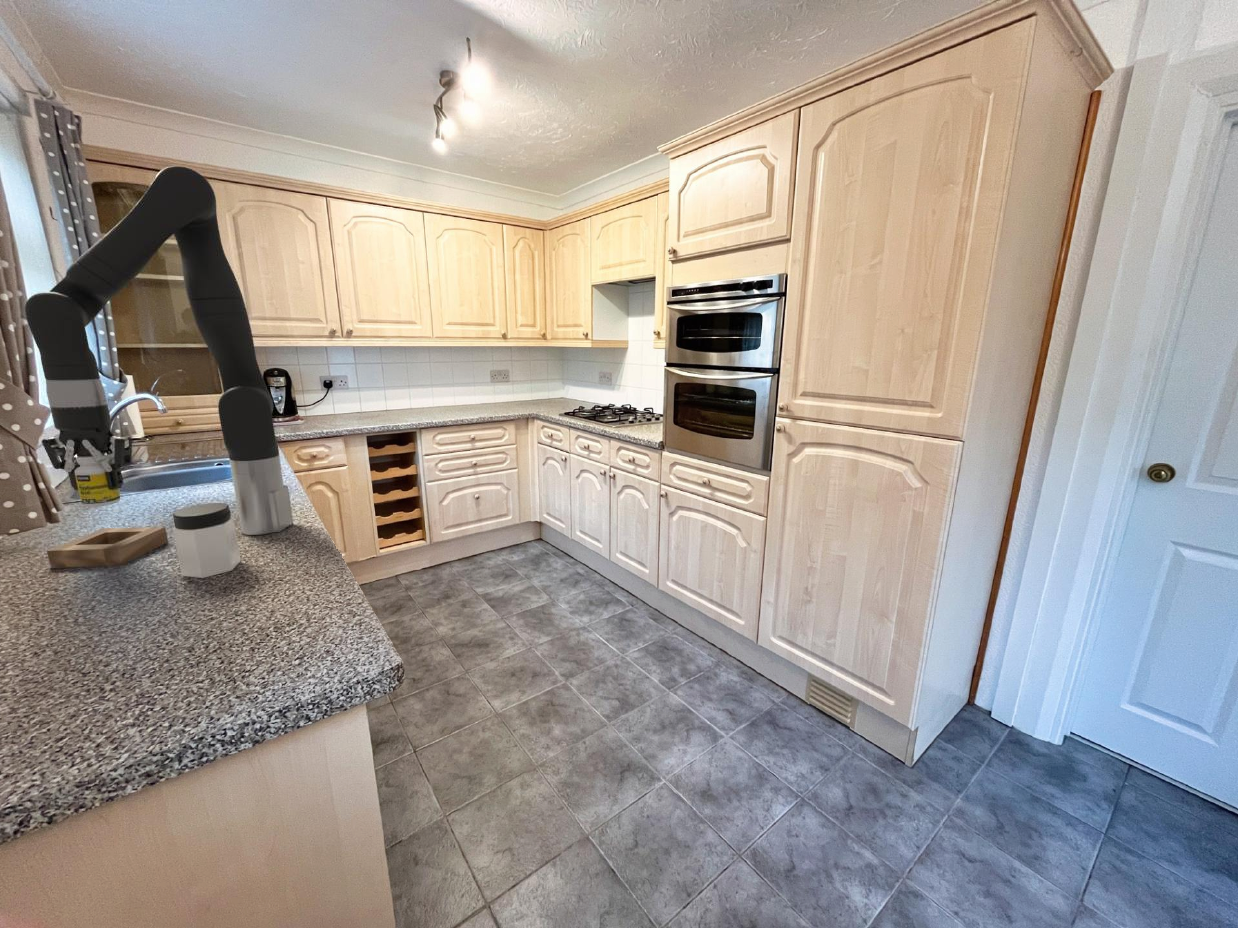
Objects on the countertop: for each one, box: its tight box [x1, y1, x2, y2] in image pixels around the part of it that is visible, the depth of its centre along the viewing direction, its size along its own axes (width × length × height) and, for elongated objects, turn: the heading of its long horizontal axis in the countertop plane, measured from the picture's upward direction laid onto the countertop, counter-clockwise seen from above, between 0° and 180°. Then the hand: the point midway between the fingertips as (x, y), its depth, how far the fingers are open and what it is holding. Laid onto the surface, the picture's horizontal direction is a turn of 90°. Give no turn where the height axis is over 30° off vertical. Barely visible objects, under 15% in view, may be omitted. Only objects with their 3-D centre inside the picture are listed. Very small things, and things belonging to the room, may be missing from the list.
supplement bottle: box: [75, 453, 121, 508], centre depth 97 cm, size 5×5×10 cm
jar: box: [172, 502, 241, 579], centre depth 94 cm, size 9×8×12 cm
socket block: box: [46, 526, 169, 569], centre depth 100 cm, size 12×12×4 cm
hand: (98, 488), depth 98 cm, fingers closed on supplement bottle, 5 cm apart
